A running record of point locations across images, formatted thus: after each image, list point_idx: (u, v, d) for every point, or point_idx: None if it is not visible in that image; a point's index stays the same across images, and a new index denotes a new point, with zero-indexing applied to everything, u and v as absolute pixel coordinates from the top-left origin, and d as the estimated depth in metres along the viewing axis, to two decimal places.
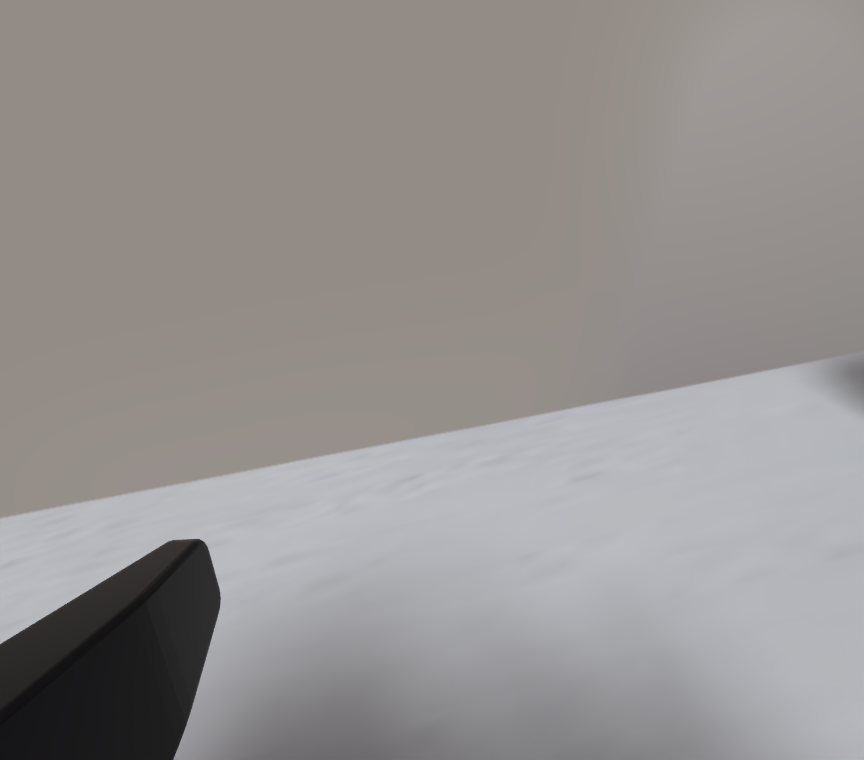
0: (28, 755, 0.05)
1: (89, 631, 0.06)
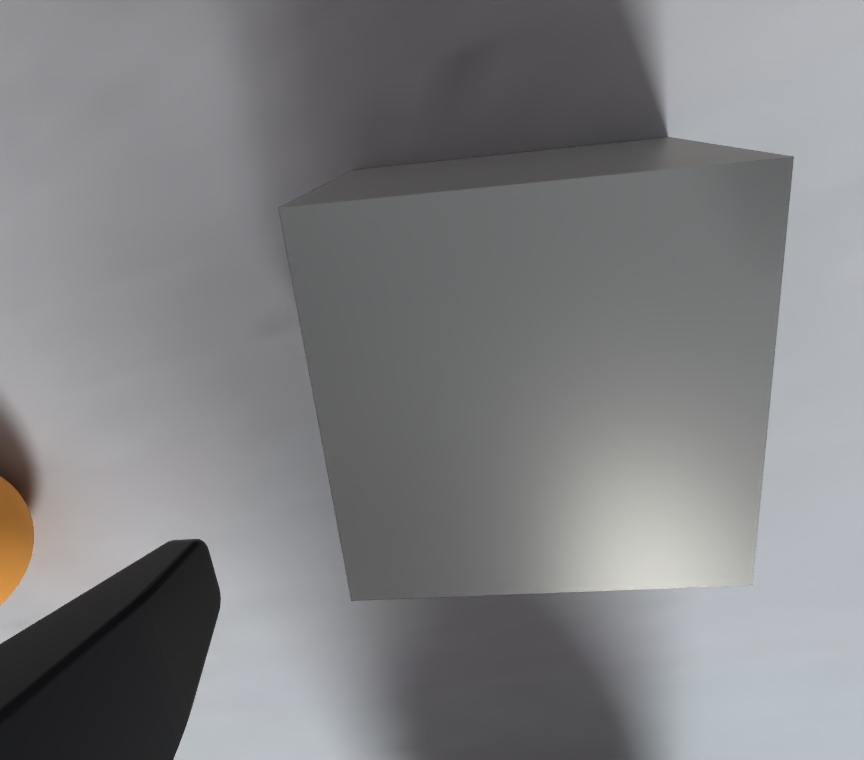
0: (28, 755, 0.05)
1: (89, 631, 0.06)
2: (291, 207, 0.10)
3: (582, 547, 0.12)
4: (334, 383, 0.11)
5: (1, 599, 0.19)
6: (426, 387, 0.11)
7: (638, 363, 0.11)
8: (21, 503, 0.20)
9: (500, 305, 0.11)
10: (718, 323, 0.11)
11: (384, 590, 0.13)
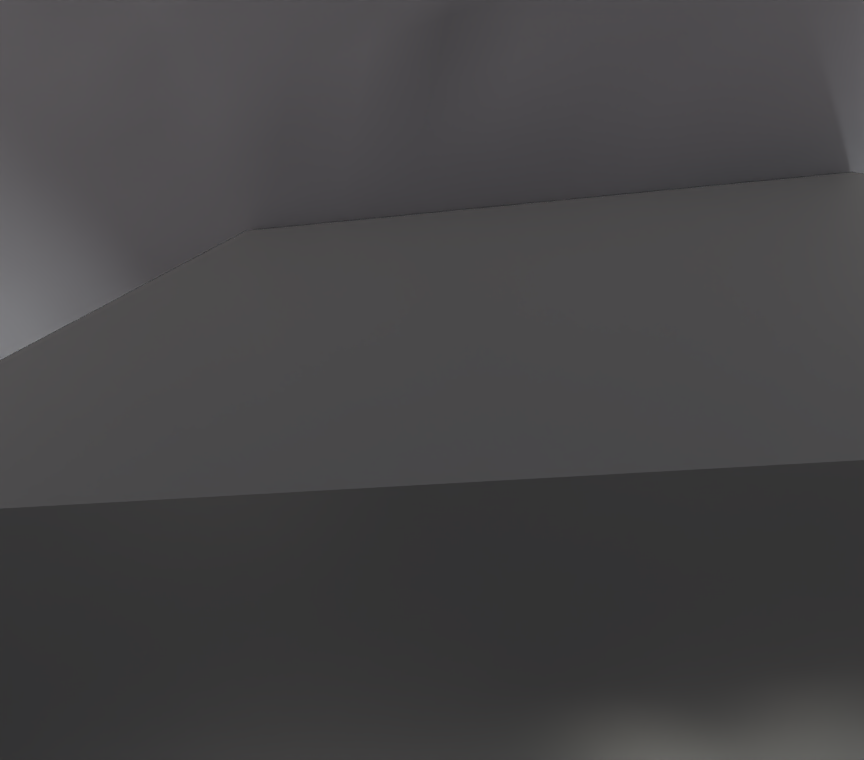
0: None
1: None
2: None
3: None
4: None
5: None
6: None
7: None
8: None
9: None
10: None
11: None
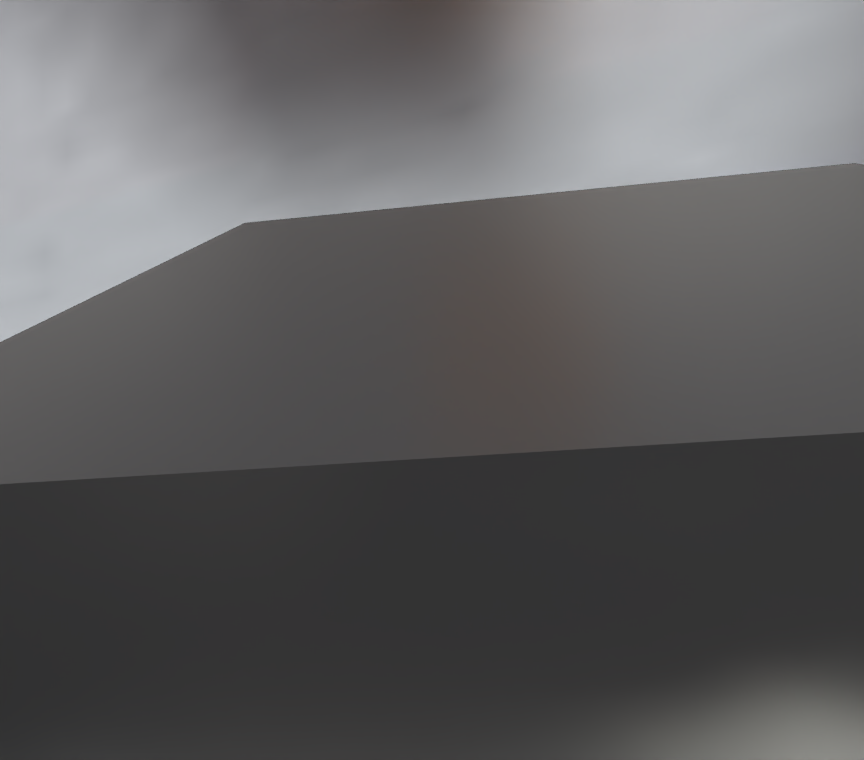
0: None
1: None
2: None
3: None
4: None
5: None
6: None
7: None
8: None
9: None
10: None
11: None
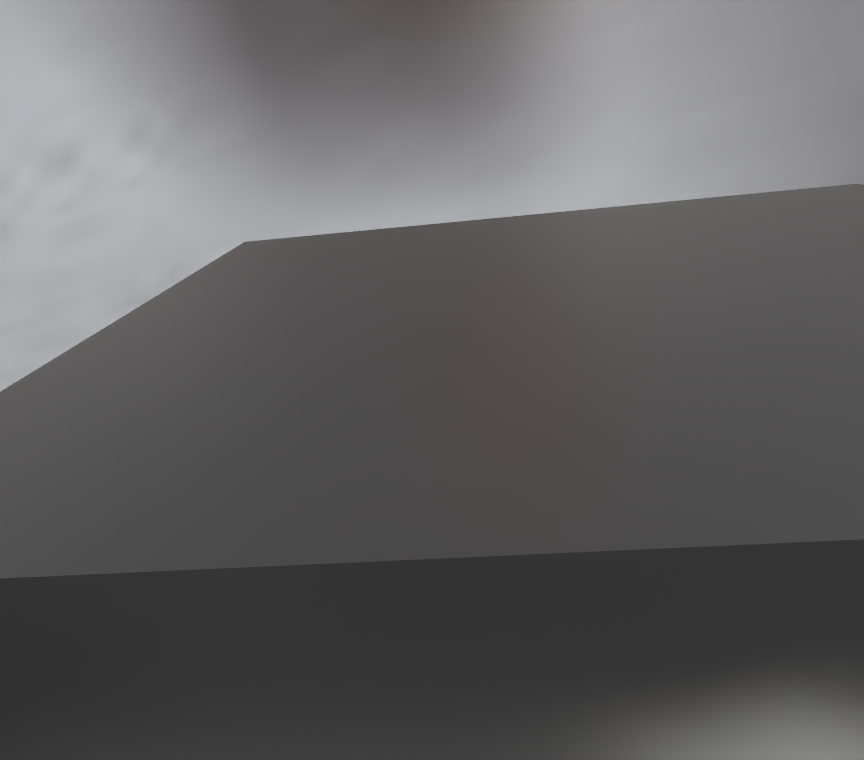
0: None
1: None
2: None
3: None
4: None
5: None
6: None
7: None
8: None
9: None
10: None
11: None
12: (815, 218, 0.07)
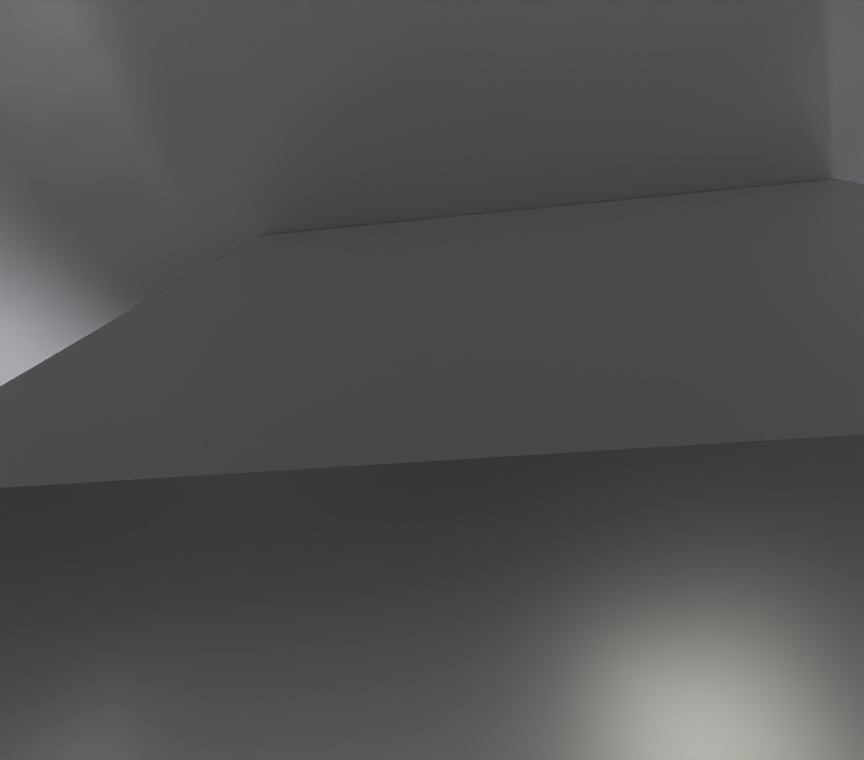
0: None
1: None
2: None
3: None
4: None
5: None
6: None
7: None
8: None
9: None
10: None
11: None
12: (790, 208, 0.07)
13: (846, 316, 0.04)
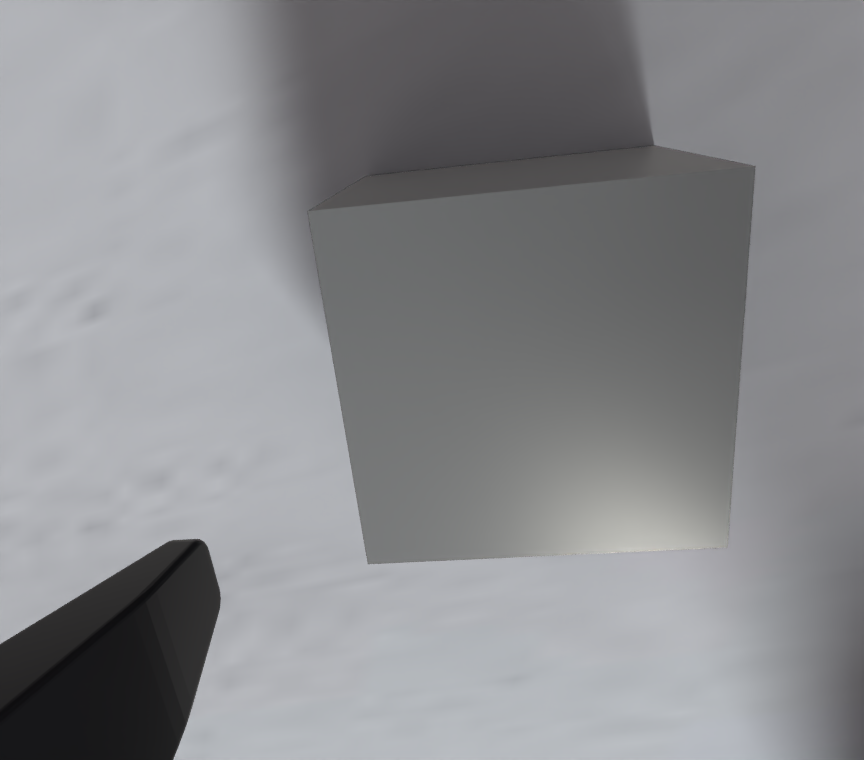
0: (28, 755, 0.05)
1: (89, 631, 0.06)
2: (318, 210, 0.12)
3: (575, 513, 0.14)
4: (354, 366, 0.13)
5: None
6: (436, 369, 0.13)
7: (623, 347, 0.12)
8: None
9: (501, 296, 0.12)
10: (692, 311, 0.12)
11: (397, 553, 0.15)
12: (618, 155, 0.16)
13: (591, 173, 0.13)
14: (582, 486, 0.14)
